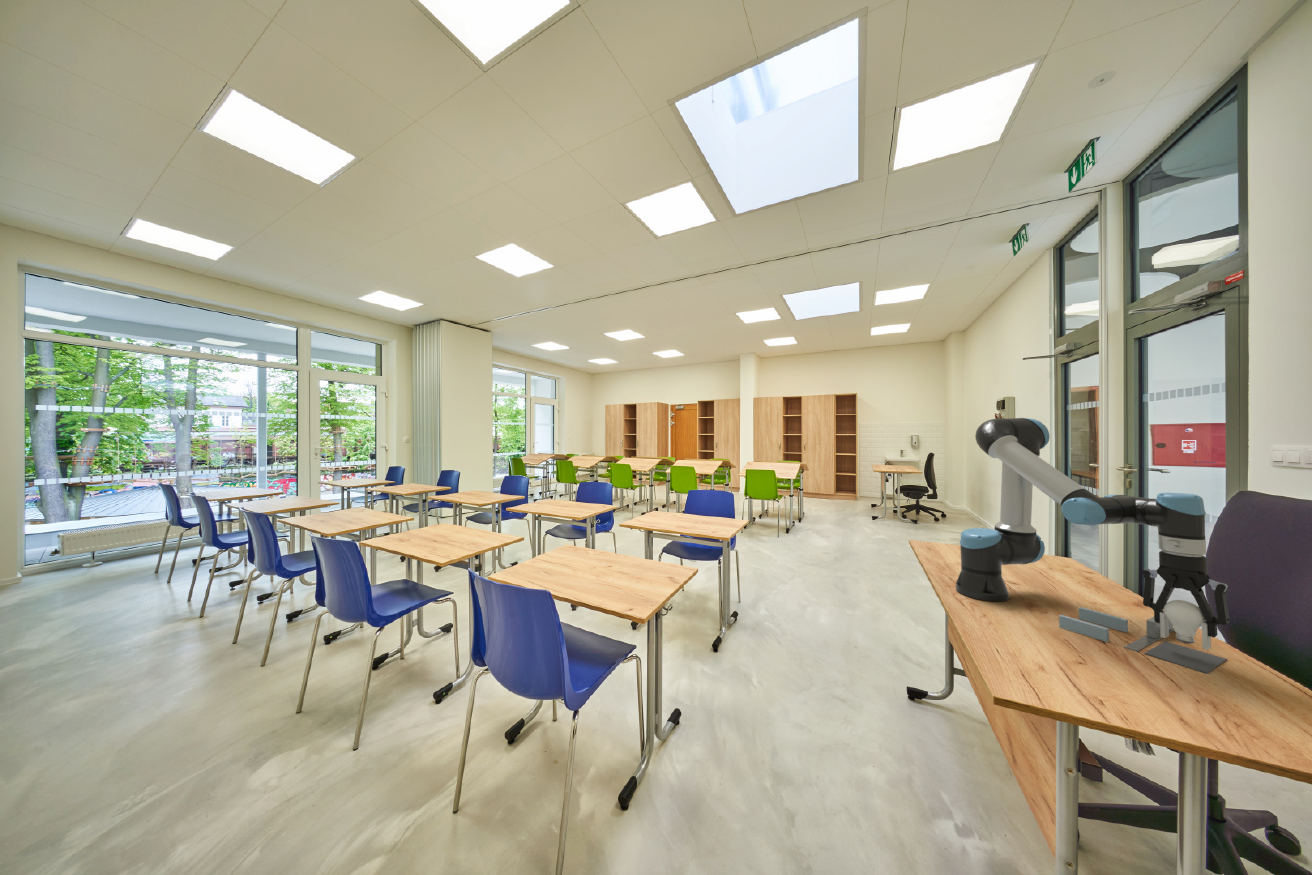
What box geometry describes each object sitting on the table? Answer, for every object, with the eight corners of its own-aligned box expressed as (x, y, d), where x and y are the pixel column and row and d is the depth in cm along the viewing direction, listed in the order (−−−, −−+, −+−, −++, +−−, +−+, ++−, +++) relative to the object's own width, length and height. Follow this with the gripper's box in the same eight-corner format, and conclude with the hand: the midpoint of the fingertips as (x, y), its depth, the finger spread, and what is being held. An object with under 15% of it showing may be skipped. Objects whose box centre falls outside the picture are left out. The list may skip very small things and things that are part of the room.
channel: (1059, 627, 121) (1058, 615, 121) (1081, 617, 127) (1080, 606, 127) (1106, 642, 112) (1106, 629, 112) (1128, 631, 118) (1127, 619, 118)
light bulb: (1215, 649, 100) (1214, 606, 101) (1188, 650, 101) (1187, 606, 101) (1181, 636, 107) (1180, 595, 107) (1156, 637, 107) (1154, 596, 107)
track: (1124, 647, 109) (1124, 646, 109) (1164, 626, 120) (1164, 625, 120) (1137, 651, 107) (1137, 650, 107) (1176, 629, 118) (1176, 628, 118)
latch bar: (1145, 635, 114) (1145, 615, 114) (1163, 626, 120) (1162, 606, 120) (1156, 638, 113) (1155, 618, 113) (1174, 629, 118) (1173, 609, 118)
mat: (1144, 654, 106) (1144, 652, 106) (1165, 642, 111) (1165, 641, 111) (1207, 673, 96) (1207, 672, 96) (1226, 659, 102) (1226, 658, 102)
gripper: (1121, 546, 111) (1124, 629, 111) (1241, 565, 94) (1244, 663, 94) (1133, 543, 114) (1136, 624, 114) (1250, 560, 97) (1254, 656, 97)
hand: (1185, 641), depth 104 cm, fingers closed on light bulb, 6 cm apart
